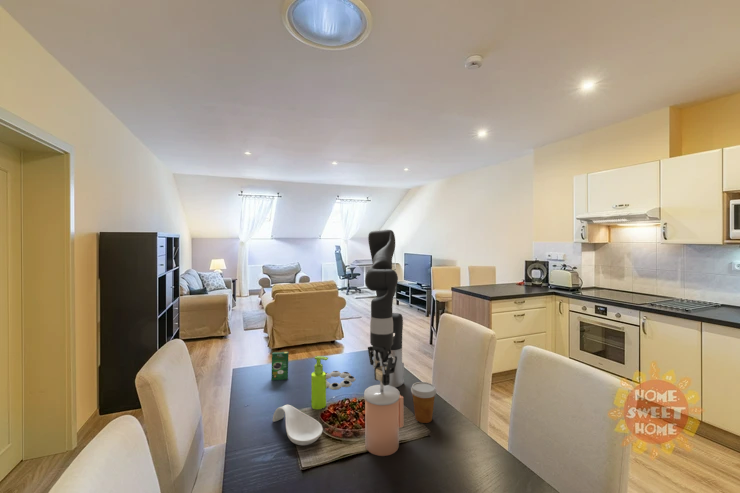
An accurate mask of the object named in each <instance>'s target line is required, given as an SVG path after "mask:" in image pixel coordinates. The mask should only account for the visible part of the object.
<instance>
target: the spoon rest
mask: <svg viewBox="0 0 740 493" xmlns="http://www.w3.org/2000/svg"><path fill="white" fill-rule="evenodd" d="M282 419H284V420H285V431H286V435H287V437H288V439H289V441H290V442H291V443H293V444H295V445H298V446H309V445H311V444H313V443H315V442H316V441H317V440H318V439H319V438H320V436H321V435H322V433H323V431H324V430H323V425H322V423H320V422H319V421H318V420H317V419H315V418H314V417H312V416H311V415H308V414H306V413H304V412H303V411H301V410H300V409H298V408H296V407H294V406H293V405H290V404H285V405H283V406H279V407H277V408H276V409H275V411H274V412H273V416H272V423H273V422H278V421H280V420H282Z"/></svg>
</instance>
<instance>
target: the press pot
mask: <svg viewBox="0 0 740 493" xmlns="http://www.w3.org/2000/svg"><path fill="white" fill-rule="evenodd" d="M363 396H364V397H363V398H364V403H365V404H364V411H365V412H364V413H365V414H364V415H365V417H364V418H365V419H364V421H365V422H364V425H365V426H364V427H365V428H364V429H365V430H364V431H365V433H364V437H365V438H364V440H365V449H366V450H367V451H368V453H370V454H372V455H375V456H379V457H385V456H386V457H387V456H391V455H393V454H395V453H396V452H397V451H398V449H399V447H400V440H399V439H400V436H399V435H400V434H399V433H400V431H399V430H400V429H401V428H403V427H404V425H405V424H404V422H405V421H404V396H403V395H401V394H400V391H399V389H398V388H397V387H393V386H389V385H386V386H384V392H380V384H374V385H370V386H369V387H367V388H365V390H364V393H363Z"/></svg>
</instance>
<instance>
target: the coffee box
mask: <svg viewBox="0 0 740 493" xmlns="http://www.w3.org/2000/svg"><path fill="white" fill-rule="evenodd" d="M281 380H283V381H284V380H289V351H273V352H272V353H271V381H272V382H273V381H281Z"/></svg>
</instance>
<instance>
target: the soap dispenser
mask: <svg viewBox="0 0 740 493" xmlns="http://www.w3.org/2000/svg"><path fill="white" fill-rule="evenodd" d="M314 360H315V361H316V363H315V364H314V371H313V372H311V375H310V376H311V380H310V381H311V383H310V384H311V386H310V387H311V389H310V390H311V393H310V394H311V402H310V403H311V408H312V409H313V410H323V409H324V408H325V407H326V406H327V388H326V373H327V372H325V371H324V370H323V369H324V366H323V363H321V362H322V361H323V360H324V361H328V360H329V357H326V356H323V355H320V356H319V355H318V356H315V357H314ZM322 408H323V409H322Z"/></svg>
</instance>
